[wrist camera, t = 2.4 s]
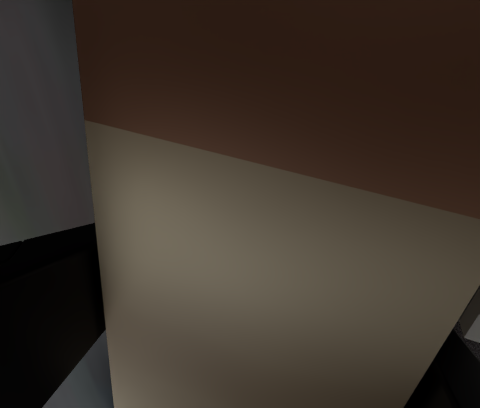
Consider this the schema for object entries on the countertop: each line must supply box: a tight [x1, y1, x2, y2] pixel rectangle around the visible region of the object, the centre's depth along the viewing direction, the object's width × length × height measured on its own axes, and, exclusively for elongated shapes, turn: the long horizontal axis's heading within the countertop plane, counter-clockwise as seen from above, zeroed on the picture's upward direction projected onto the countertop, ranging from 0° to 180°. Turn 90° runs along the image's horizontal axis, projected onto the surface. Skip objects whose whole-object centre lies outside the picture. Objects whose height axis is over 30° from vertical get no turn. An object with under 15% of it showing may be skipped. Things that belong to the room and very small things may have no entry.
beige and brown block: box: [72, 0, 480, 408], centre depth 8 cm, size 12×6×4 cm, turn 173°
